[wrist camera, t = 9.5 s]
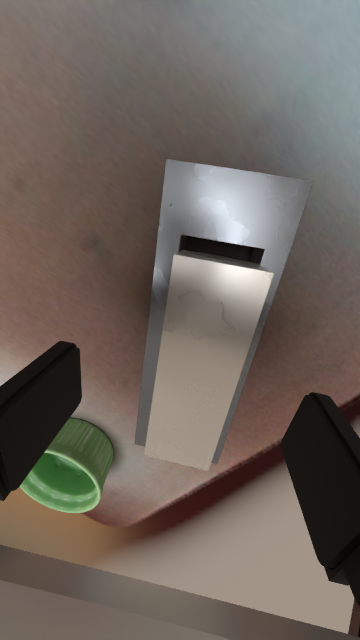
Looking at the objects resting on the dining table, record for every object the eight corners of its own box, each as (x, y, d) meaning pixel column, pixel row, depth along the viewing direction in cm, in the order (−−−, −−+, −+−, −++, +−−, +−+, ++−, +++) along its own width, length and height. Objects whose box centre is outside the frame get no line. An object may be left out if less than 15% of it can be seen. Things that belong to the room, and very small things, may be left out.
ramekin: (126, 430, 23) (108, 473, 19) (110, 479, 26) (91, 524, 22) (47, 401, 23) (12, 437, 19) (41, 454, 26) (10, 494, 22)
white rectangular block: (189, 246, 15) (173, 254, 9) (246, 256, 15) (273, 273, 8) (166, 382, 20) (143, 455, 13) (209, 392, 19) (208, 471, 13)
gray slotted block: (177, 176, 14) (166, 158, 10) (288, 194, 13) (313, 181, 10) (146, 412, 21) (134, 444, 18) (216, 428, 21) (217, 464, 18)
